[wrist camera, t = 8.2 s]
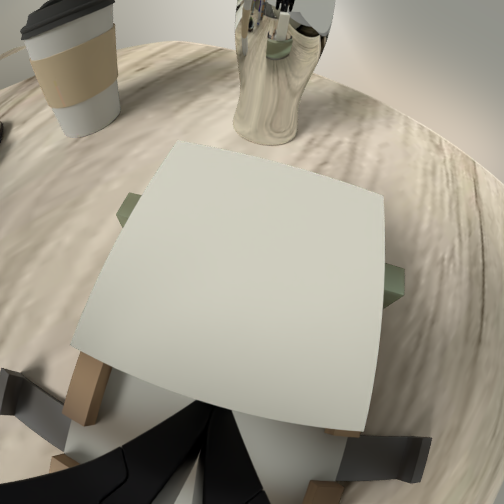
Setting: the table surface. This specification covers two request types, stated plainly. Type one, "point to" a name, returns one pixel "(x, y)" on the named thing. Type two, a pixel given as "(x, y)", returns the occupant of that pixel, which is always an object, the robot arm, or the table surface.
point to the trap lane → (252, 431)
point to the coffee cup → (75, 62)
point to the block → (246, 289)
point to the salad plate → (1, 130)
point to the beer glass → (276, 63)
